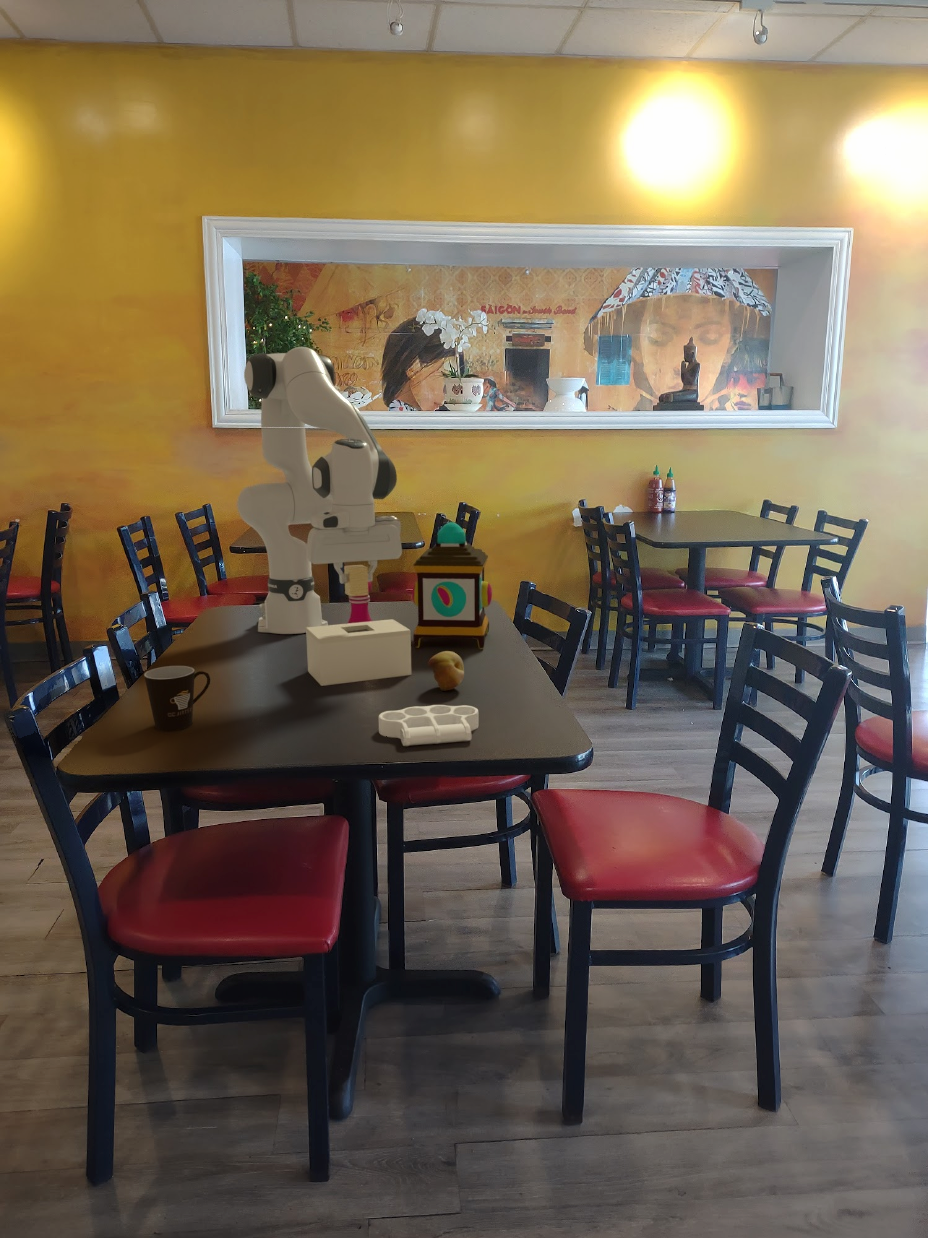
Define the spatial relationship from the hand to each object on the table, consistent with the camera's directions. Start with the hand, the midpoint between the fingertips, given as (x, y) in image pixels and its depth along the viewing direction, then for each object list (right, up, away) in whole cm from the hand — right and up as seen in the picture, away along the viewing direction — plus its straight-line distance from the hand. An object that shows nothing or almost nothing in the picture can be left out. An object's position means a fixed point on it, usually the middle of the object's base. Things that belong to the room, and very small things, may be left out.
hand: (356, 582), depth 184 cm
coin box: (0, -20, +5) cm, 20 cm away
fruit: (+20, -23, -8) cm, 31 cm away
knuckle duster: (+17, -29, -32) cm, 46 cm away
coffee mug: (-28, -27, -27) cm, 48 cm away
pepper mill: (-2, -16, +24) cm, 29 cm away
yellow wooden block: (0, -3, +1) cm, 3 cm away
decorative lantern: (+20, -14, +33) cm, 41 cm away
